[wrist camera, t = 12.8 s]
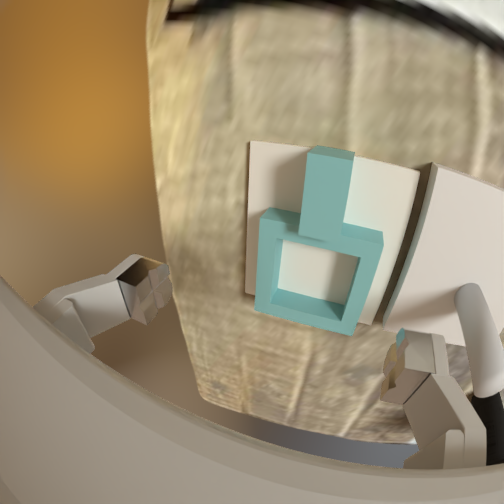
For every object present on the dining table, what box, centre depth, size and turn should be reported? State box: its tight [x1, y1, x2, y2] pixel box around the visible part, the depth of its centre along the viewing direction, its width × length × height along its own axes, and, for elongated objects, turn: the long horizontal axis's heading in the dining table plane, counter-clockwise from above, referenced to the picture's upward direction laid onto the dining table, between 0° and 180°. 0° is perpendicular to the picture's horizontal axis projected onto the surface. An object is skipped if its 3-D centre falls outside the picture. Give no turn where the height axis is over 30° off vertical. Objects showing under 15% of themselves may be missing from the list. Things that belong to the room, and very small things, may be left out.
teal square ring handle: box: [254, 145, 384, 336], centre depth 22 cm, size 16×10×4 cm, turn 177°
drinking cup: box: [471, 392, 504, 466], centre depth 17 cm, size 8×8×20 cm
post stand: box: [383, 162, 504, 398], centre depth 15 cm, size 16×14×12 cm
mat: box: [245, 140, 420, 325], centre depth 24 cm, size 16×14×1 cm
